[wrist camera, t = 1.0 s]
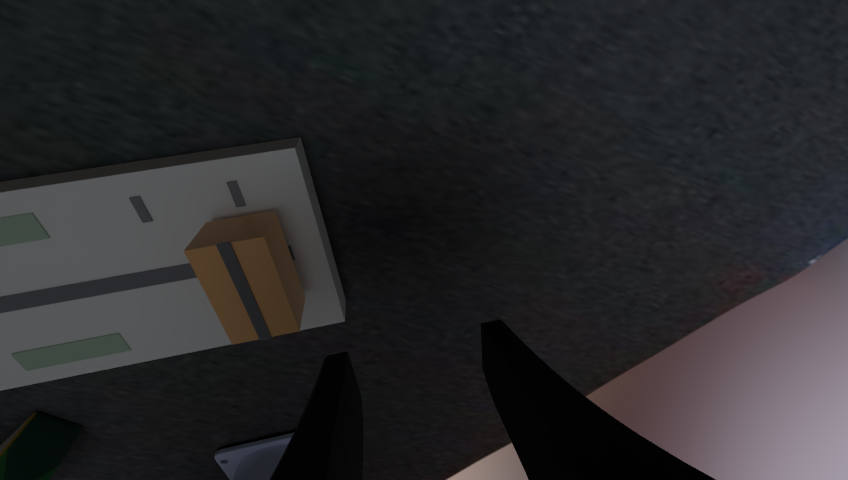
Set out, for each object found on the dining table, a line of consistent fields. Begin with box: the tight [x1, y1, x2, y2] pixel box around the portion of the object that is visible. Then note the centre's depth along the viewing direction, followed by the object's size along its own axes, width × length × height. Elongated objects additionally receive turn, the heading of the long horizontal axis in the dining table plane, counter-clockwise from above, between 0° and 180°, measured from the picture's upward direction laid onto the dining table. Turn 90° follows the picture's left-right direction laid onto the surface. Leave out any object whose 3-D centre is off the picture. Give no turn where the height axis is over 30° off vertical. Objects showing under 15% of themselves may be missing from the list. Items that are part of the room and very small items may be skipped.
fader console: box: [0, 137, 346, 391], centre depth 18 cm, size 10×22×2 cm, turn 96°
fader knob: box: [184, 211, 305, 345], centre depth 16 cm, size 5×3×3 cm, turn 6°
